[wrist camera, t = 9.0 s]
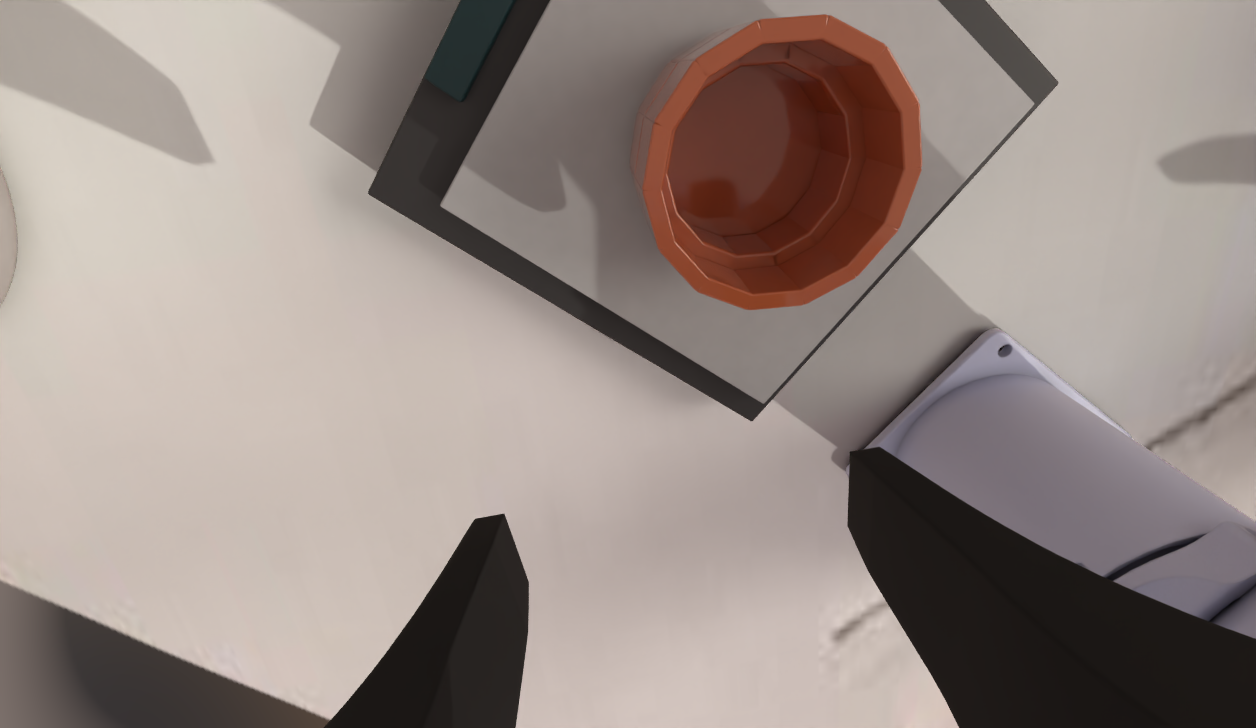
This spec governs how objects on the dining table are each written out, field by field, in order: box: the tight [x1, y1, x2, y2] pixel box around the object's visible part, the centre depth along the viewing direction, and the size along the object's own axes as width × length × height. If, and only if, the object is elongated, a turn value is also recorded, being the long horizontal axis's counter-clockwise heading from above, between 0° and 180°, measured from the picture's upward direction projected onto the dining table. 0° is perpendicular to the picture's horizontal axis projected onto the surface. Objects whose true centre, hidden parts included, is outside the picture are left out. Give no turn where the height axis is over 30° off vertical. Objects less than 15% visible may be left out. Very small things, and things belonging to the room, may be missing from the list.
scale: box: [368, 0, 1058, 421], centre depth 16 cm, size 14×13×3 cm
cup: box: [629, 14, 922, 310], centre depth 13 cm, size 6×6×4 cm
